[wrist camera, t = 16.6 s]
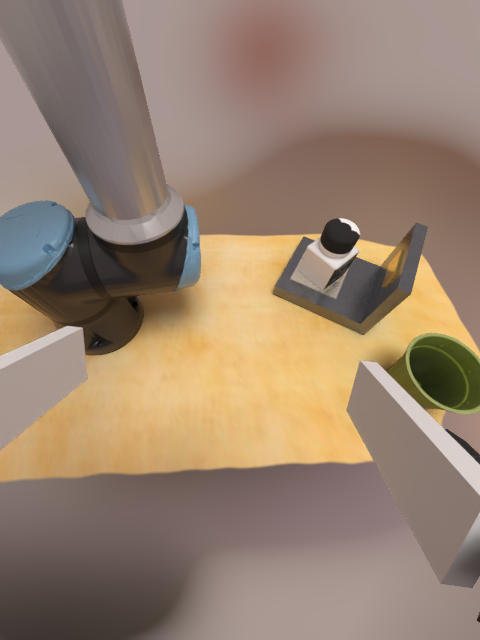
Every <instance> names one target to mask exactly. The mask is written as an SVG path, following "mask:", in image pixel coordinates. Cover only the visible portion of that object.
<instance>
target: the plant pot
mask: <svg viewBox="0 0 480 640" xmlns="http://www.w3.org/2000/svg"><path fill="white" fill-rule="evenodd" d="M386 372H387V373H388V374H389V375H390V376H391V377H392V378H393V379H394V380H395V381H396V382H397V383H398V384H399V385H400V386H401V387H402V388H403V389H404V390H405V391H406V392H407V393H408V394H409V395H410V396H411V397H412V398H413V399H414V400H415V401H416V402H417V403H418V404H419V405H420V406H421V407H422V408H423V409H441V410H447V411H449V412H453V413H457V414H472V413H476V412H479V411H480V359H479V357H478V356H477V355H476V354H475V353H474V352H473V351H472V350H471V349H470V348H469V347H467V346H466V345H465V344H463V343H462V342H460V341H458V340H457V339H454V338H452V337H450V336H447V335H443V334H438V333H427V334H423V335H420V336H418V337H416V338H415V339H414V340H413V341H412V342H411V343H410V344H409V346H408V348H407V351H406V352H405V354H404V355H403V357H401V358H400V359H399V360H398V361H397V362H396V363H395V364H394V365H393V366H392V367H391V368H390V369H389V370H388V371H386Z"/></svg>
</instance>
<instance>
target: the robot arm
mask: <svg viewBox="0 0 480 640" xmlns="http://www.w3.org/2000/svg"><path fill="white" fill-rule="evenodd" d="M0 39H1V41H2V43H3V45H4V46H5V48H6V50H7V52H8V54H9V56H10V57H11V59H12V61H13V63H14V65H15V66H16V68H17V70H18V72H19V74H20V75H21V77H22V79H23V81H24V83H25V84H26V86H27V88H28V90H29V92H30V93H31V95H32V97H33V99H34V101H35V102H36V104H37V106H38V108H39V110H40V112H41V113H42V115H43V117H44V119H45V121H46V122H47V124H48V126H49V128H50V130H51V132H52V133H53V135H54V137H55V139H56V141H57V142H58V144H59V146H60V148H61V150H62V151H63V153H64V155H65V157H66V159H67V161H68V162H69V164H70V166H71V168H72V170H73V171H74V173H75V175H76V177H77V178H78V180H79V182H80V184H81V186H82V188H83V189H84V191H85V193H86V195H87V197H88V199H89V200H90V203H89V205H88V207H87V210H86V217H82V218H74V216H73V215H72V213H71V212H70V211H69V210H67V209H66V208H65V207H63V206H62V205H60V204H57V203H56V202H52V201H36V202H30V203H26V204H23V205H21V206H18V207H16V208H14V209H12V210H10V211H8V212H7V213H5V214H4V215H2V216H1V217H0V284H1V285H2V286H3V287H4V288H6V289H8V290H9V291H11V292H12V293H14V294H15V295H17V296H18V297H19V298H21V299H22V300H24V301H25V302H27V303H28V304H30V305H31V306H32V307H34V308H35V309H37V310H38V311H40V312H41V313H43V314H44V315H45V316H47V317H48V318H50V319H51V320H53V322H54V324H55V326H56V328H57V331H55V332H52V333H50V334H48V335H46V336H44V337H41V338H39V339H37V340H35V341H33V342H30V343H28V344H26V345H24V346H21V347H19V348H17V349H15V350H13V351H10V352H8V353H6V354H4V355H2V356H0V450H2V449H3V448H4V447H5V446H6V445H8V444H9V443H10V442H11V441H12V440H14V439H15V438H16V437H17V436H18V435H20V434H21V433H22V432H23V431H25V430H26V429H27V428H28V427H29V426H31V425H32V424H33V423H34V422H35V421H37V420H38V419H39V418H40V417H42V416H43V415H44V414H45V413H46V412H48V411H49V410H50V409H51V408H52V407H54V406H55V405H56V404H57V403H59V402H60V401H61V400H62V399H63V398H65V397H66V396H67V395H68V394H69V393H71V392H72V391H73V390H74V389H76V388H77V387H78V386H79V385H80V384H82V383H83V382H84V381H85V380H86V379H87V368H86V357H85V354H88V355H102V354H107V353H110V352H113V351H115V350H118V349H119V348H121V347H123V346H124V345H126V344H127V343H128V342H129V341H130V340H131V339H132V338H133V337H134V336H135V335H136V334H137V332H138V331H139V329H140V327H141V324H142V321H143V307H142V304H141V302H140V300H139V299H138V297H137V296H138V295H145V294H153V293H160V292H167V291H177V290H178V289H181V288H186V287H191V286H194V285H195V284H196V283H197V282H198V281H199V278H200V273H201V253H200V247H199V246H200V237H199V228H198V220H197V216H196V212H195V209H194V208H193V207H192V206H187V205H184V204H183V200H182V198H181V196H180V194H179V193H178V192H177V191H176V190H175V189H174V188H173V187H171V186H169V185H168V184H166V180H165V177H164V172H163V168H162V164H161V160H160V155H159V151H158V147H157V143H156V139H155V135H154V131H153V126H152V122H151V118H150V114H149V110H148V105H147V101H146V98H145V93H144V89H143V85H142V81H141V76H140V72H139V68H138V64H137V60H136V56H135V52H134V47H133V43H132V39H131V35H130V31H129V26H128V22H127V18H126V14H125V10H124V6H123V2H122V0H0ZM347 412H348V414H349V416H350V418H351V420H352V421H353V423H354V425H355V427H356V429H357V431H358V433H359V434H360V436H361V438H362V440H363V442H364V444H365V445H366V447H367V449H368V451H369V453H370V455H371V456H372V458H373V460H374V462H375V464H376V466H377V467H378V469H379V471H380V473H381V474H382V477H383V479H384V480H385V482H386V484H387V486H388V488H389V490H390V491H391V493H392V495H393V497H394V499H395V501H396V502H397V504H398V506H399V508H400V510H401V512H402V514H403V515H404V517H405V519H406V521H407V523H408V524H409V526H410V528H411V530H412V532H413V534H414V536H415V537H416V539H417V541H418V543H419V545H420V546H421V548H422V550H423V552H424V554H425V556H426V558H427V560H428V561H429V563H430V565H431V567H432V569H433V571H434V572H435V574H436V576H437V578H438V580H439V582H440V583H441V584H447V585H454V586H462V587H469V588H473V586H474V584H475V583H476V581H477V579H478V578H479V576H480V455H479V454H478V453H477V452H476V451H475V450H474V449H473V448H472V447H471V446H470V445H469V444H468V443H467V442H466V441H464V440H463V439H461V438H460V437H458V436H457V435H455V434H454V433H452V432H451V431H449V430H448V429H443V428H442V427H441V426H440V425H439V424H438V423H437V422H436V421H435V420H434V419H433V418H432V417H431V416H430V415H429V414H428V413H427V412H426V411H425V410H424V409H423V408H422V407H421V406H420V405H419V404H418V403H417V402H416V401H415V400H414V399H413V398H412V397H411V396H410V395H409V394H408V393H407V392H406V391H405V390H404V389H403V388H402V387H401V386H400V385H399V384H398V383H397V382H396V381H395V380H394V379H393V378H392V377H391V376H390V375H389V374H388V373H387V372H386V371H385V370H384V369H383V368H382V367H381V366H380V365H379V364H378V363H377V362H369V361H361V360H360V363H359V367H358V370H357V374H356V377H355V381H354V385H353V388H352V392H351V396H350V399H349V403H348V406H347ZM477 621H478V622H480V613H479V615H478V618H477Z"/></svg>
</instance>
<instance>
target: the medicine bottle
mask: <svg viewBox="0 0 480 640" xmlns="http://www.w3.org/2000/svg"><path fill="white" fill-rule="evenodd" d="M359 237H360V231H359V229H358V227H357V226H356V225H355V224H354V223H353V222H351V221H349V220H347V219H342V218H337V219H333V220H331V221H329V222H328V223H327V224H326V226H325V228H324V231H323V233H322V235H321V237H320V238H318V239H317V240H315V241H314V242H313V243H311V244H310V245H308V246H307V248H306V251H305V254H304V256H303V259H302V262H301V264H300V267H299V271H301V272H302V273H303V274H304V275H305V276H306V277H308V278H309V279H310V280H311V281H312V282H314V283H315V284H316V285H317V286H318V287H319V288H321V289H322V290H325V289H327V288H328V287H329V286H330V285H332V284H333V283H334V282H335V281H336V280H338V279H339V278H340V277H341V276H343V275H344V274H345V273H346V271H347V269H348V268H349V266H350V265H351V263H352V262H353V260H354V259H355V257H356V256H357V254H358V253H359V250H358V249H357V248H355V247H354V246H355V244H356V242H357V241H358V239H359Z"/></svg>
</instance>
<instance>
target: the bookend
mask: <svg viewBox="0 0 480 640" xmlns="http://www.w3.org/2000/svg"><path fill="white" fill-rule="evenodd" d="M427 228H428V227H427V226H424V225H421V224H419V223H416V224H415V225H414V226H413V227H412V228H411V230H410V231H409V232H408V233H407V235H406V236H405V237H404V238H403V240H402V241H401V242H400V243H399V244H398V246H397V247H396V248H395V249H394V250H393V252H392V253H391V254H390V255H389V257H388V258H387V259H386V260H385V261H384V263H383V264H382V265H381V266H377V265H375V264H372V263H370V262H367V261H365V260H362V259H360V258H357V257H355V259H354V260H353V262H352V263H351V265H350V266H349V268H348V269H347V271H346V273H345V274H344V275H343V276H341V277H340V278H339V279H338V280H336V281H335V282H334V283H333V284H332V285H330V286H329V287H328V288H327V289H325V290H322V289H321V288H319V287H318V286H317V285H316V284H315V283H314V282H312V281H311V280H310V279H309V278H308V277H306V276H305V275H304V274H303V273H302V272H301V271H299V267H300V264H301V262H302V259H303V256H304V254H305V251H306V248H307V246H308V245H310V244H311V243H313V242H314V240H311V239H309V238H306V237H303V238H302V240H301V242H300V244H299V245H298V247H297V249H296V251H295V252H294V254H293V256H292V258H291V259H290V261H289V263H288V265H287V266H286V268H285V270H284V272H283V274H282V275H281V277H280V279H279V281H278V282H277V284H276V286H275V289H274V293H273V294H274V295H276V296H278V297H281V298H283V299H285V300H287V301H290V302H292V303H294V304H296V305H298V306H301V307H303V308H305V309H307V310H309V311H312V312H314V313H316V314H318V315H320V316H323V317H325V318H327V319H329V320H331V321H334V322H336V323H338V324H340V325H342V326H345V327H347V328H349V329H351V330H353V331H356V332H358V333H360V334H362V335H364V334H365V333H366V332H367V331H369V330H370V329H371V328H372V327H373V326H374V325H376V324H377V323H378V322H379V321H380V320H381V319H383V318H384V317H385V316H386V315H387V314H388V313H389V312H391V311H392V310H393V309H394V308H395V307H396V306H398V305H399V304H400V303H401V302H402V301H403V300H405V299H406V298H407V297H408V296H409V295H410V294H411V292H412V288H413V284H414V280H415V276H416V272H417V268H418V264H419V260H420V256H421V252H422V248H423V244H424V240H425V236H426V232H427Z"/></svg>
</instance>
